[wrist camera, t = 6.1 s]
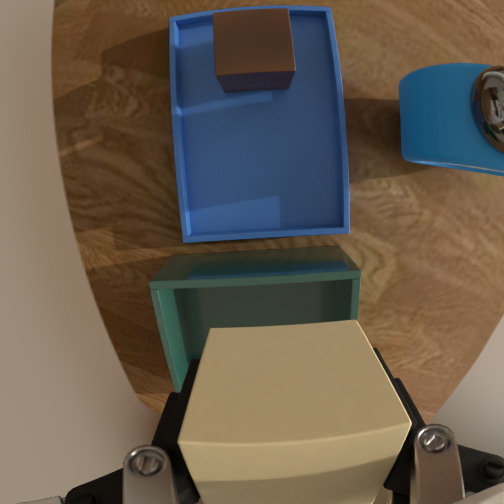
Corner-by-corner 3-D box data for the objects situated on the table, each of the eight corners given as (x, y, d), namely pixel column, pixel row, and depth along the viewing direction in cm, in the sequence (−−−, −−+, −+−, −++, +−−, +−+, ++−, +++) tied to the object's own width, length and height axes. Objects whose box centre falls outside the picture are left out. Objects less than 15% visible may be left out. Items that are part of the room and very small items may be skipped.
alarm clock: (374, 159, 23) (500, 165, 8) (372, 88, 21) (483, 26, 7) (486, 174, 22) (603, 198, 8) (484, 114, 21) (599, 108, 6)
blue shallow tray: (174, 25, 20) (169, 17, 18) (326, 15, 19) (330, 7, 17) (187, 237, 25) (183, 243, 23) (344, 228, 24) (349, 233, 23)
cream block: (209, 326, 10) (175, 441, 5) (356, 318, 10) (413, 423, 5) (225, 424, 11) (212, 524, 7) (342, 417, 11) (367, 512, 6)
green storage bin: (172, 255, 25) (148, 281, 20) (339, 245, 25) (361, 270, 19) (196, 383, 29) (185, 424, 24) (331, 377, 29) (343, 418, 23)
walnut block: (221, 39, 20) (212, 12, 15) (283, 35, 19) (288, 7, 15) (224, 93, 21) (215, 76, 16) (288, 89, 21) (296, 71, 16)
